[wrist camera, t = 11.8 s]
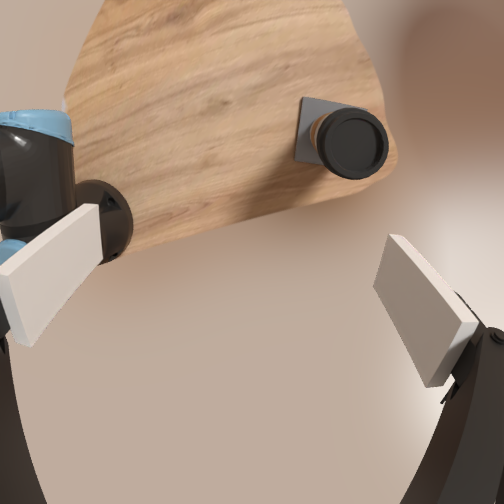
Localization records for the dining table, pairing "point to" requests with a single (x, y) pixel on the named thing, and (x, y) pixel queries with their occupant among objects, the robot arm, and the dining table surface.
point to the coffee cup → (350, 142)
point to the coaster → (308, 115)
